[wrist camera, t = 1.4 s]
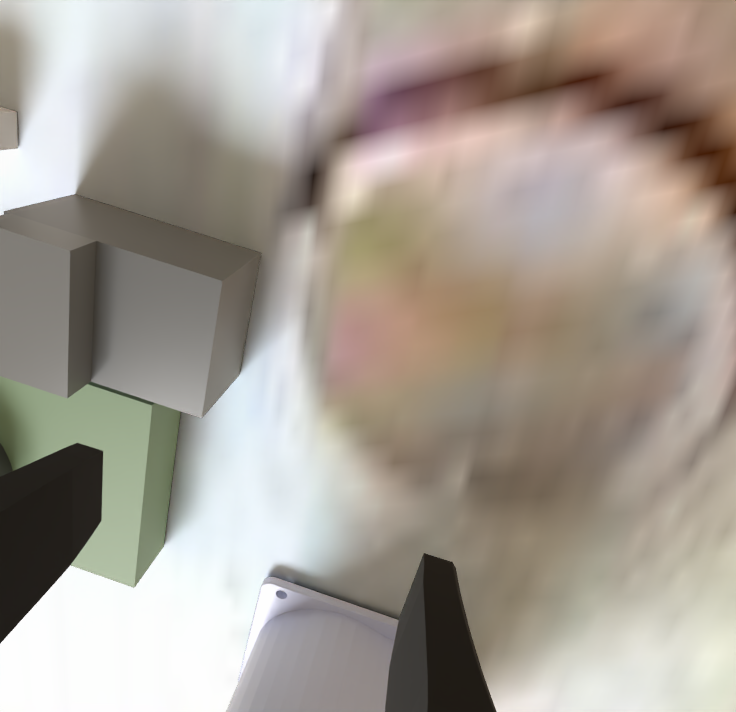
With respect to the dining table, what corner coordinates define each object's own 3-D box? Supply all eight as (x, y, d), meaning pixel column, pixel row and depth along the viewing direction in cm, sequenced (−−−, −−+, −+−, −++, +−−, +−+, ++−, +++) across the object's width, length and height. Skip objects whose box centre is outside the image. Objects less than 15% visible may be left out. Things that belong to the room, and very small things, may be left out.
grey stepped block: (263, 251, 20) (204, 293, 16) (241, 372, 22) (184, 437, 18) (78, 193, 20) (-29, 218, 16) (75, 318, 22) (-20, 369, 18)
